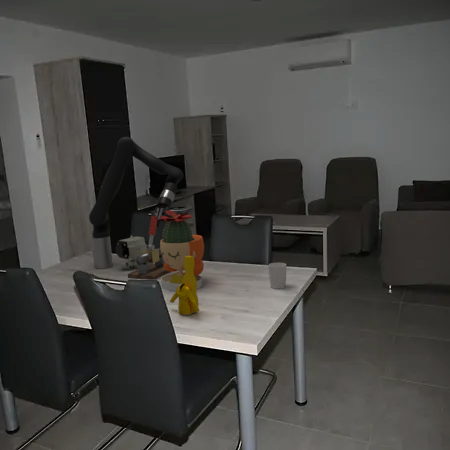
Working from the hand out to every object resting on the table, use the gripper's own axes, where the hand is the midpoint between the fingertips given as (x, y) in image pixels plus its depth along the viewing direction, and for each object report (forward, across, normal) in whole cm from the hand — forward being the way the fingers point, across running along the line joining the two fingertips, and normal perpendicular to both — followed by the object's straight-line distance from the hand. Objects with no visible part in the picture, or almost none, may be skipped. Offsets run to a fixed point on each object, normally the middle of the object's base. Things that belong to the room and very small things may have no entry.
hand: (155, 226), depth 234 cm
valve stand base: (+21, 0, +12) cm, 25 cm away
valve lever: (+11, 0, +2) cm, 11 cm away
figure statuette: (+53, +46, -20) cm, 73 cm away
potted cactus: (+29, +26, +4) cm, 39 cm away
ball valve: (+16, -17, +18) cm, 29 cm away
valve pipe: (+20, 0, +11) cm, 23 cm away
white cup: (+25, +70, +9) cm, 75 cm away
